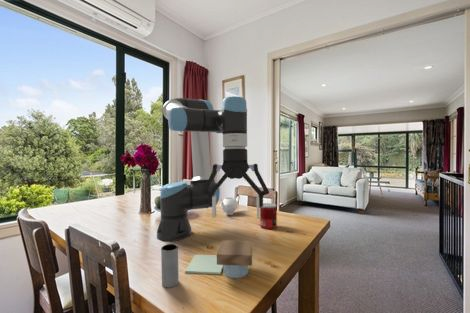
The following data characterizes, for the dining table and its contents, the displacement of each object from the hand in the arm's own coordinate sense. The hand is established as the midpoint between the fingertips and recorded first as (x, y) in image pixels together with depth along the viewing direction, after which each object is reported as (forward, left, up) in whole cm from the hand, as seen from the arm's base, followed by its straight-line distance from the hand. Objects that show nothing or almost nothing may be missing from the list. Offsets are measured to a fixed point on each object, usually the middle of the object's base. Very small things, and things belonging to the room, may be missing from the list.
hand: (236, 217), depth 68 cm
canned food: (+12, +42, -17) cm, 47 cm away
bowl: (0, 0, -17) cm, 17 cm away
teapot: (-10, +65, -17) cm, 68 cm away
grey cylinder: (-18, -8, -17) cm, 26 cm away
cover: (0, 0, -12) cm, 12 cm away
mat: (-10, +3, -17) cm, 20 cm away
